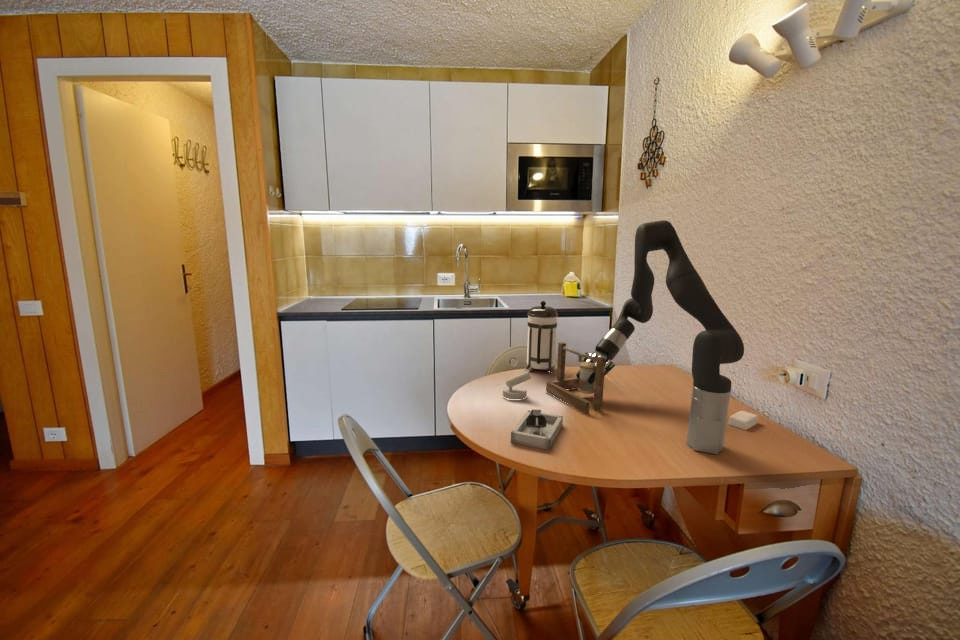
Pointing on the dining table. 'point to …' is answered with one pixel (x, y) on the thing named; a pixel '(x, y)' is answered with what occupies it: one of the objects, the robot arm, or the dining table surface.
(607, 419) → the dining table surface
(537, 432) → the plug tray
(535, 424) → the power plug
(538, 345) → the coffee press
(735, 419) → the soap
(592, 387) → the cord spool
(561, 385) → the wooden frame rack
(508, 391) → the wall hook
